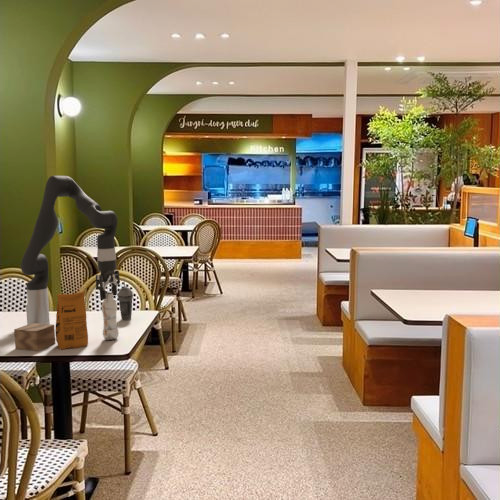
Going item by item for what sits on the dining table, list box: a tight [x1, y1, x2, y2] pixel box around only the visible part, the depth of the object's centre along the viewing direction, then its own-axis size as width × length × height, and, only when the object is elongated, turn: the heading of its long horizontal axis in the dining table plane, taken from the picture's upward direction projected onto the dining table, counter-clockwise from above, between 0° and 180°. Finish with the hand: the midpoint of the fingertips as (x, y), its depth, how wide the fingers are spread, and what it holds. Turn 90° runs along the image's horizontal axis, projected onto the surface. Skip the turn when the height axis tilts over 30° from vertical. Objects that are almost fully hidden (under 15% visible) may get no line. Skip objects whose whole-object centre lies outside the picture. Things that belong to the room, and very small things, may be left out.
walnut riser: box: [13, 323, 56, 352], centre depth 246 cm, size 11×11×8 cm
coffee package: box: [55, 291, 89, 350], centre depth 245 cm, size 10×12×22 cm
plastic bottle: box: [101, 291, 120, 341], centre depth 253 cm, size 6×7×20 cm
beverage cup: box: [117, 277, 134, 321], centre depth 289 cm, size 7×7×20 cm
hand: (108, 297), depth 252 cm, fingers open, 8 cm apart
